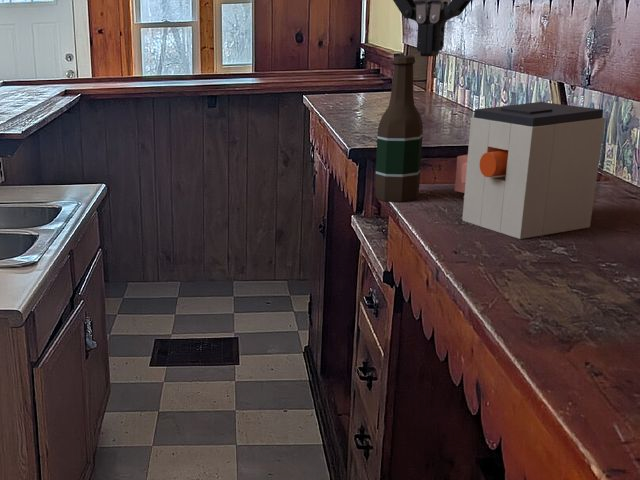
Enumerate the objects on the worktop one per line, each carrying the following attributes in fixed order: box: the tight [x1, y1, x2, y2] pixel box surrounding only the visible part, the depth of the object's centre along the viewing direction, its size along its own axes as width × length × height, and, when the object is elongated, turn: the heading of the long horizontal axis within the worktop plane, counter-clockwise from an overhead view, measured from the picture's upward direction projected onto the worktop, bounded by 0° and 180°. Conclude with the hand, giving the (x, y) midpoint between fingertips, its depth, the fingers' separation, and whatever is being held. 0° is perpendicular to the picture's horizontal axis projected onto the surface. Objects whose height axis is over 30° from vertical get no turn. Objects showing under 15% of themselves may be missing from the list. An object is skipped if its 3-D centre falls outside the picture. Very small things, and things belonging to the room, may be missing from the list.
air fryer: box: [461, 101, 606, 240], centre depth 130 cm, size 13×13×18 cm
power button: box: [480, 150, 508, 177], centre depth 128 cm, size 4×4×4 cm
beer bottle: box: [374, 54, 424, 203], centre depth 149 cm, size 8×8×24 cm
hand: (429, 55), depth 107 cm, fingers closed
